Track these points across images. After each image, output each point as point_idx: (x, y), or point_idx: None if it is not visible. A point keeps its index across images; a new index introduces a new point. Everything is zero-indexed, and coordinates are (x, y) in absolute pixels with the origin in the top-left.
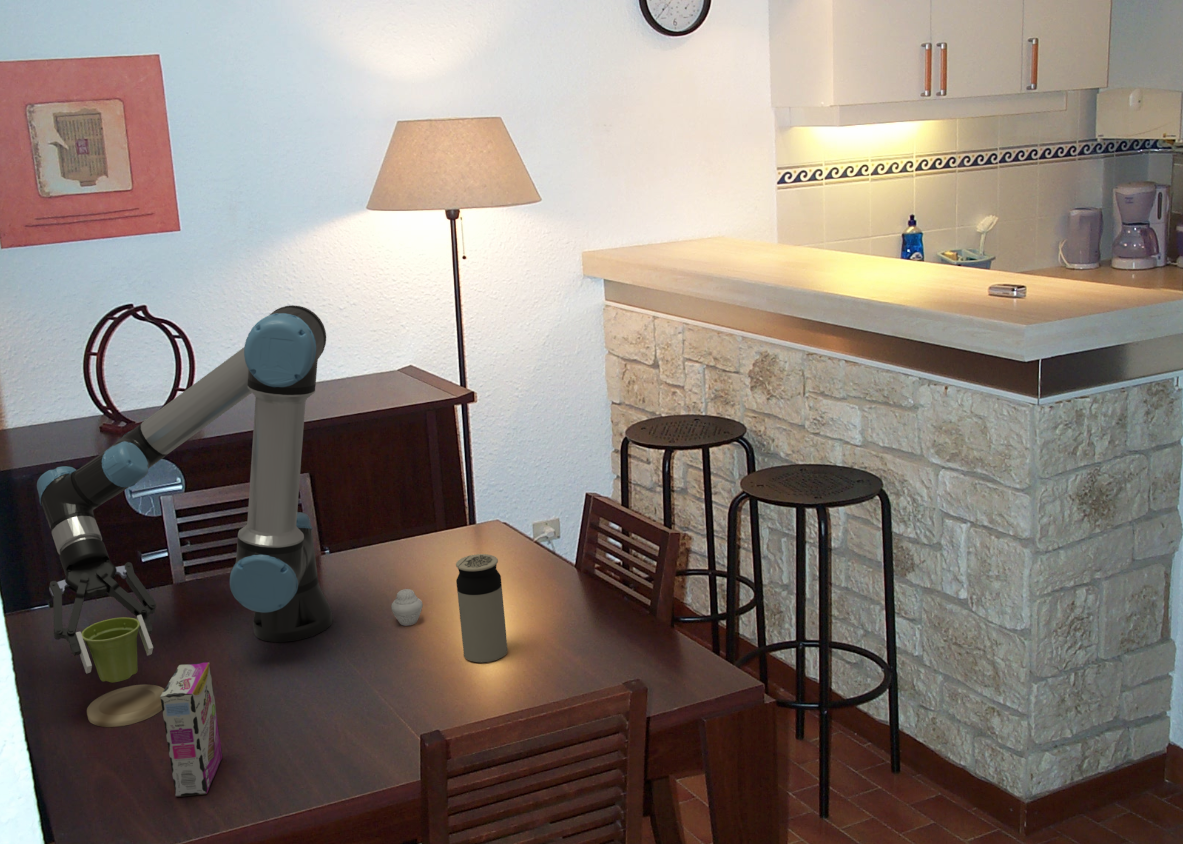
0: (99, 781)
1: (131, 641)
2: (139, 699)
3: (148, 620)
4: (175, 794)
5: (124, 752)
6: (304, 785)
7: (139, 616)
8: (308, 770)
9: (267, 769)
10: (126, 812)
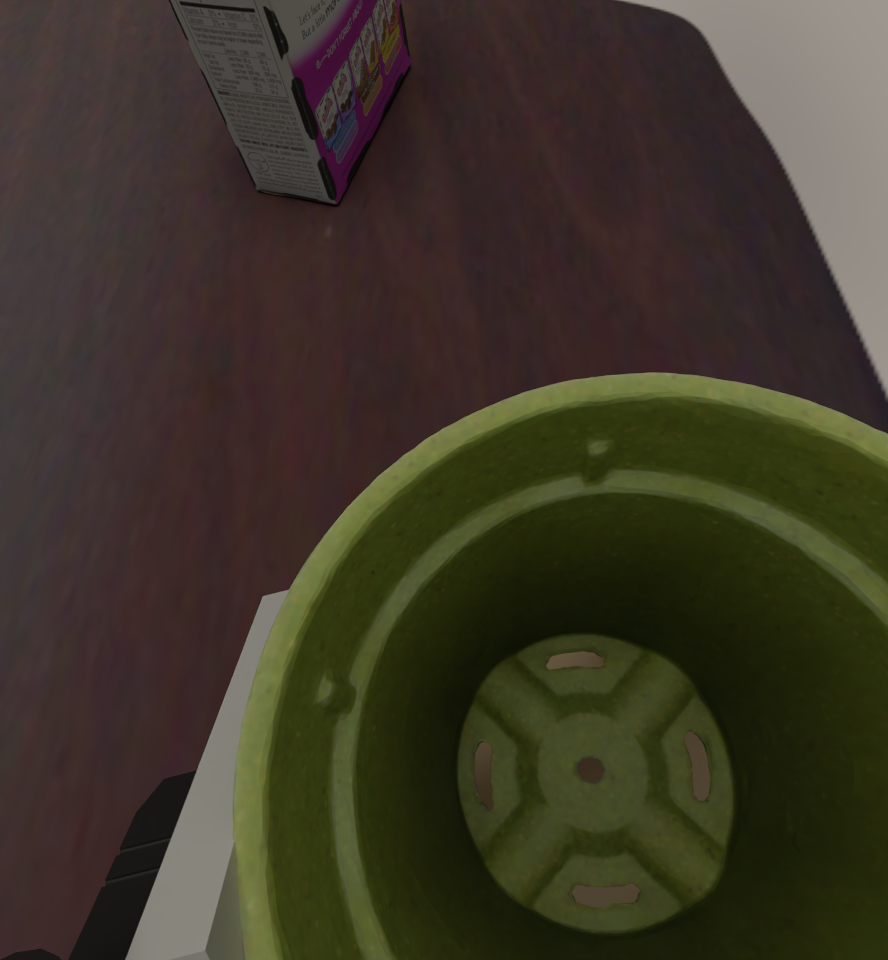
0: (626, 197)
1: (424, 580)
2: (484, 749)
3: (105, 916)
4: (409, 54)
5: (553, 337)
6: (128, 31)
7: (174, 923)
8: (93, 76)
9: (173, 107)
10: (537, 49)
